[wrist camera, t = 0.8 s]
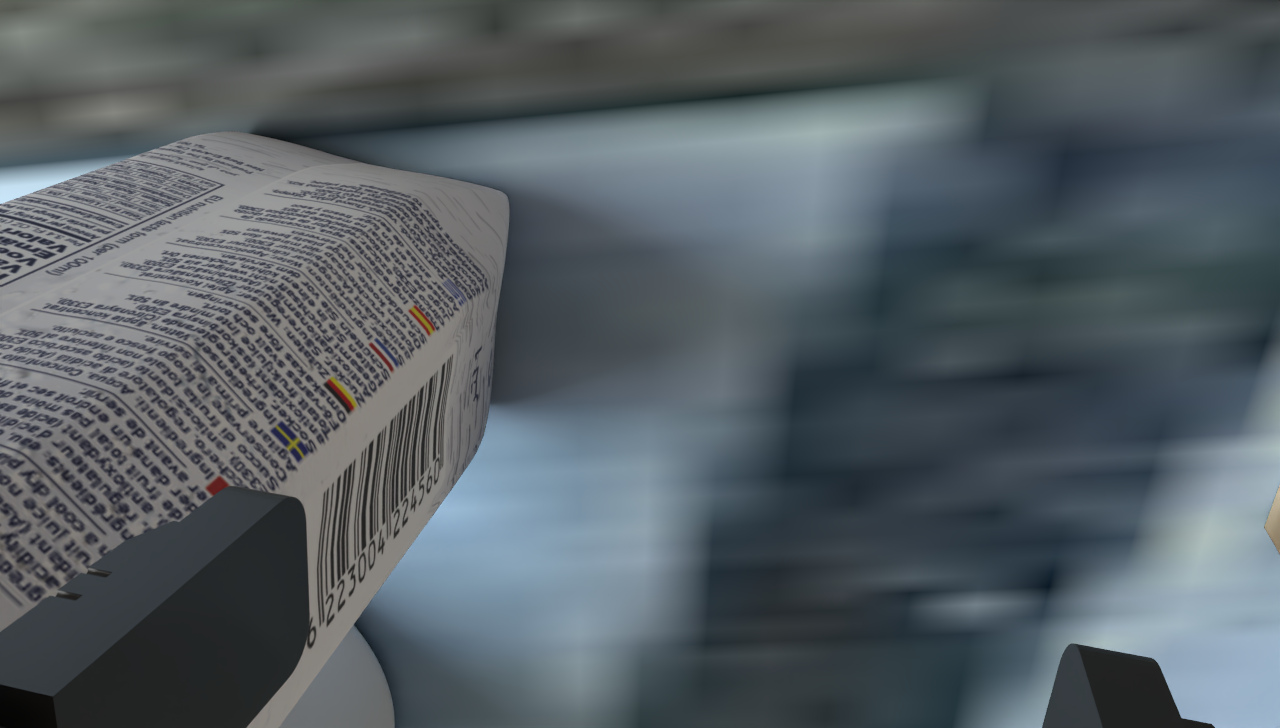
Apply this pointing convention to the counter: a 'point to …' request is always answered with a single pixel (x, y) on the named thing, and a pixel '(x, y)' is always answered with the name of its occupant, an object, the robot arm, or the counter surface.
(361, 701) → the cylinder vase
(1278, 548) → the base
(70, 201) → the juice carton
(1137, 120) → the counter surface
